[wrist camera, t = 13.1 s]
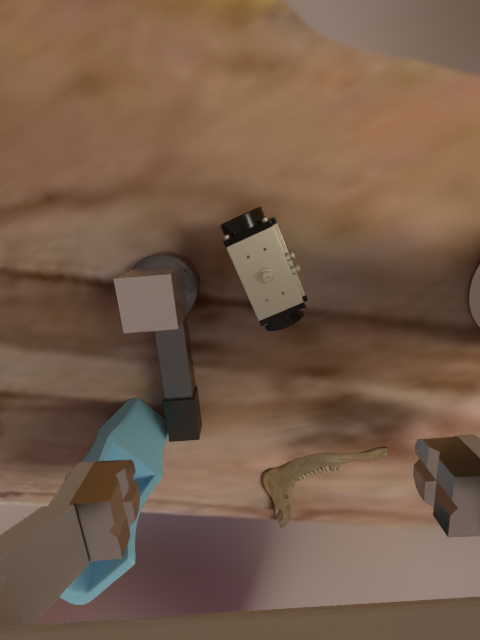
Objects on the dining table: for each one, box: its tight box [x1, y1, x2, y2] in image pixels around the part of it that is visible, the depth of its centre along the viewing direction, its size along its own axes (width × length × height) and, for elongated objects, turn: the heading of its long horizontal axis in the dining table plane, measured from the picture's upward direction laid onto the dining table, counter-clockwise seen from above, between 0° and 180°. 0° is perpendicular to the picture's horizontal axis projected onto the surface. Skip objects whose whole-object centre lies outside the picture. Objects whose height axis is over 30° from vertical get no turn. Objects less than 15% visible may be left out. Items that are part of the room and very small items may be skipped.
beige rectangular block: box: [114, 265, 189, 333], centre depth 36 cm, size 5×5×7 cm
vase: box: [60, 398, 169, 605], centre depth 39 cm, size 8×8×20 cm
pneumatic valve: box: [220, 207, 308, 331], centre depth 36 cm, size 6×12×12 cm, turn 24°
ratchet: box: [132, 252, 202, 442], centre depth 41 cm, size 8×24×8 cm, turn 5°
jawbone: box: [262, 448, 388, 528], centre depth 50 cm, size 9×20×2 cm, turn 130°
